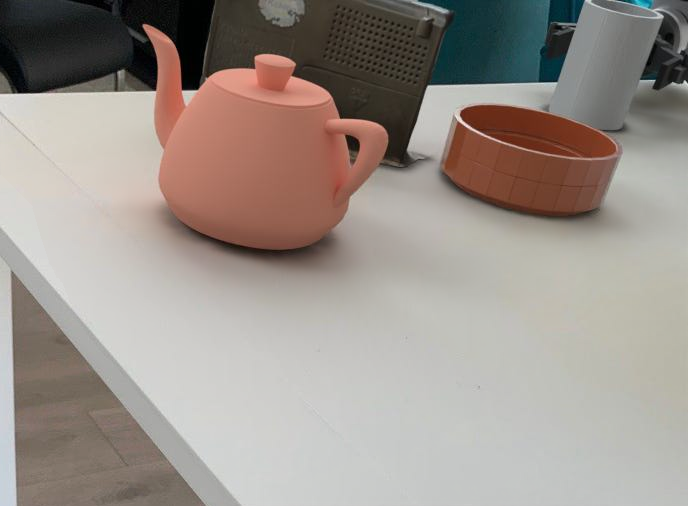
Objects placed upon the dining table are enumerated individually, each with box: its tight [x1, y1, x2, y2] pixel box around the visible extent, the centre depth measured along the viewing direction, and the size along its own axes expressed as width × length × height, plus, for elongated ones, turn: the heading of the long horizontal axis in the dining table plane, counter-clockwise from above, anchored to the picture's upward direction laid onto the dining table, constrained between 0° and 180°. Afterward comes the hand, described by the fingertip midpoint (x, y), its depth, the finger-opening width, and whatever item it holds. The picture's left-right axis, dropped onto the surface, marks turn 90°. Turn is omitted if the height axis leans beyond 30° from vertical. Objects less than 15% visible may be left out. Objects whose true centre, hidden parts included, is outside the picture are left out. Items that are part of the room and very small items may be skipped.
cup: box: [548, 0, 664, 131], centre depth 123 cm, size 9×9×12 cm
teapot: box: [142, 23, 388, 251], centre depth 80 cm, size 22×15×12 cm
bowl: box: [439, 102, 624, 217], centre depth 99 cm, size 16×16×6 cm
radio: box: [199, 0, 456, 168], centre depth 99 cm, size 23×9×15 cm, turn 70°
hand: (604, 61), depth 123 cm, fingers open, 13 cm apart
